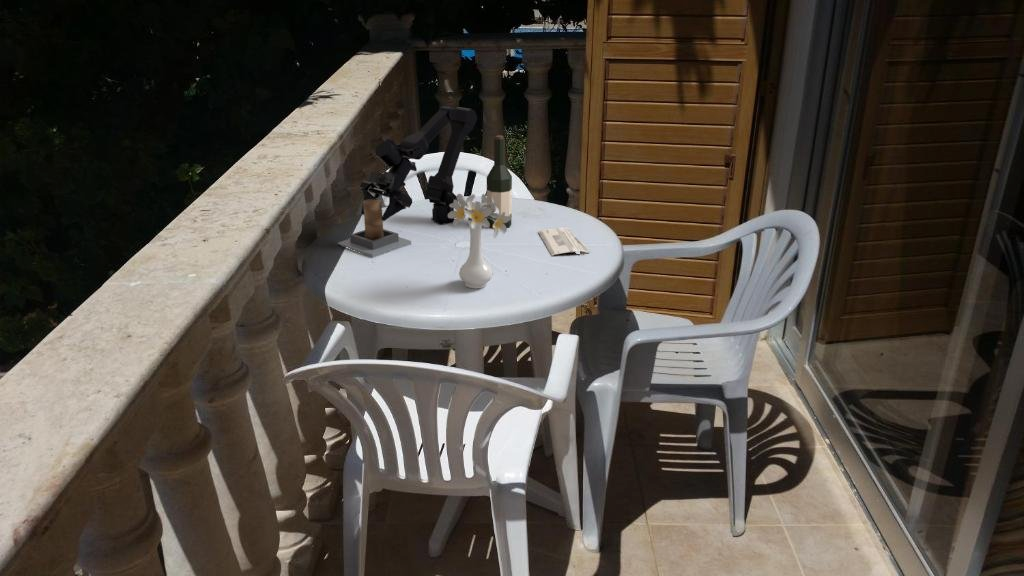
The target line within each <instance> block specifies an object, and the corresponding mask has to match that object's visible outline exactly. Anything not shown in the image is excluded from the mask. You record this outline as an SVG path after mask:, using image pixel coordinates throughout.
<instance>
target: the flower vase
mask: <svg viewBox="0 0 1024 576" xmlns="http://www.w3.org/2000/svg"><path fill="white" fill-rule="evenodd" d="M456 196H457V200H458V201H457V200H454V202H453V203H452V204H450V205H449V206H450V207H451V208H454V211H451V212H450V213H449V214H448V218H454V219H455V220H454V222H452V227H453V228H455V227H456V226H457V225H458V224H459V222H461V221H464V220H465V219H466V217H467V223H468V228H469V234H470V237H469V238H470V240H469V254H468V257H467V259H466V261H465V262H464V263H463V264H462V265H461V267H460V268H459V271H458V275H459V279H460V280H461V281H462V282H464V285H465V287H466V288H470V289H475V290H476V289H477V290H478V289H483V288H485V287H487V286H488V283H489V282H490V281H491V279H492V277H493V276H494V272H493V268H492V267H491V265H490V264H489V263H488V262H487V261H486V259H485V258H484V255H483V247H482V244H483V243H482V231H483V230H482V228H483V227H484V228H490V227H489V226H490V223H489V222H488V220H487V219H491V220H493V221H494V224H493V228H494V229H493V239H496V238H497V237H498V235H499V232H501V233H502V234H506V233H507V229H508V228H506V226H505V225H504V224H503V223H506V222H508V221H509V220H510V219H511V220H512V218H513V216H512V215H511V216H507V217H504V216H505V212H503V213H502V214H501V215H500V216H499V215H498V214H499V210H498V208H497V207H496V205H497V204H496V202H494V201H493V198H492V202H489V203H488V204H487V195H486V194H484V193H482V194H481V198H480V199H481V201H478V200H475V197H476V195H475V193H474V194H471V195H469V196H468V197H467V198H466V197H465V196H464V195H463V194H461V193H458V194H456ZM474 200H475V201H474ZM473 201H474V202H473ZM488 216H491V217H493V218H495V219H496V220H494V219H493V218H490V217H488Z"/></svg>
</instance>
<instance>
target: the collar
mask: <svg viewBox="0 0 1024 576" xmlns="http://www.w3.org/2000/svg"><path fill="white" fill-rule="evenodd" d="M383 235H384V237H383V238H380V239H377V240H374V241H373V240H369V239H366V235H365V229H364V230H360V231H357V232H354V233H351V234H349V238H348V239H345V240H342V241H338V242H337V245H338V244H340V245H342V246H345V247H348V248H350V249H352V250H355V251H357V252H356V253H358V252H360V253H359V254H361V253H362V254H361V255H363V254H365V255H364V256H366V255H367V257H368V258H376V257H378V256H381V255H384V253H385V254H387V253H389V252H392V251H395V249H396V250H398V248H399V249H401V248H403V247H404V248H405V247H406V246H409V245H412V240H409V239H407V238H403V237H401V236H399V233H397V232H394V231H391V230H389V229H384V228H383ZM352 250H351V251H352ZM355 251H354V252H355Z"/></svg>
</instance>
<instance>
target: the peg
mask: <svg viewBox="0 0 1024 576" xmlns="http://www.w3.org/2000/svg"><path fill="white" fill-rule="evenodd" d="M363 200H364V199H363ZM363 205H364V215H363V218H364V230H365V235H366V239H369V240H373V241H374V240H377V239H380V238H383V237H384V235H383V229H384V223H383V222H384V221H383V220H382V216H383V203H382V200H381V199H378V198H376V199H367V200H364V201H362V206H363Z"/></svg>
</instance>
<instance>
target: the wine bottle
mask: <svg viewBox="0 0 1024 576" xmlns="http://www.w3.org/2000/svg"><path fill="white" fill-rule="evenodd" d="M505 141H506V140H505V137H504V135H502V134H501V135H500V134H498V135H495V138H493V144H494V145H493V150H494V151H493V152H494V153H493V163H494V164H493V166H492V167H491V169H490V171H489V172H488V174H487V176H486V198H487V204H488V203H489V202H492V198H493V201H494V202H496V204H497V205H496V207H497V208H498V210H499V214H498V215H499V216H500V215H501V214H502V213H503V212H505V216H504V217H507V216H512V213H513V212H512V211H513V210H512V209H513V207H512V202H513V201H512V198H513V195H512V193H513V192H512V191H513V190H512V189H513V176H512V174H511V172H510V171H509V170H508V167H507V166H506V164H505V163H506V161H505V158H506V157H505V152H506V151H505V150H506V149H505V147H506V145H505V144H506V143H505ZM488 217H490V218H493V217H491V216H488ZM493 219H494V220H496V219H495V218H493ZM487 220H488V222H489V223H490V226H489V227H488V228H490V229H492V230H494V228H493V224H494V221H493V220H491V219H487ZM503 224H504V225H505V226H506V228H507V229H510V227H511V226H512V218H511V219H510V220H509V221H508V222H506V223H503Z"/></svg>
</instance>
